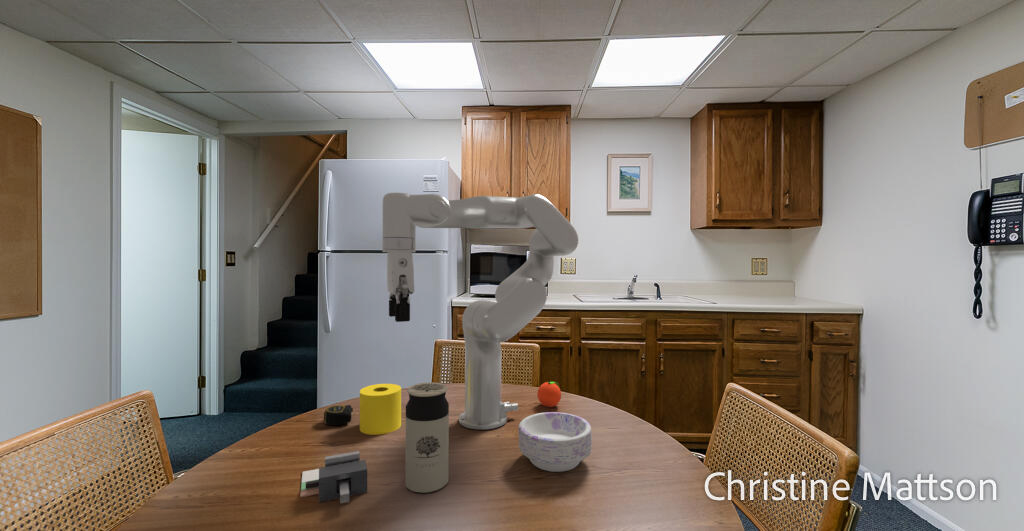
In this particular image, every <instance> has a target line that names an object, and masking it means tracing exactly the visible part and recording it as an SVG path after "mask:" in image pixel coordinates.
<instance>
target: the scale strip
mask: <svg viewBox="0 0 1024 531" xmlns="http://www.w3.org/2000/svg"><path fill="white" fill-rule="evenodd" d="M314 480H319V468H316V469H315V468H314V469H311V470H309V469H308V470H304V471H302V477H301V485H300V486H301V487H300V493H299V494H300V495H299V496H300V497H299V498H305V497H309V496H316V495H319V486H318V487H313V488H308V489H306V482H308V481H314Z"/></svg>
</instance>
